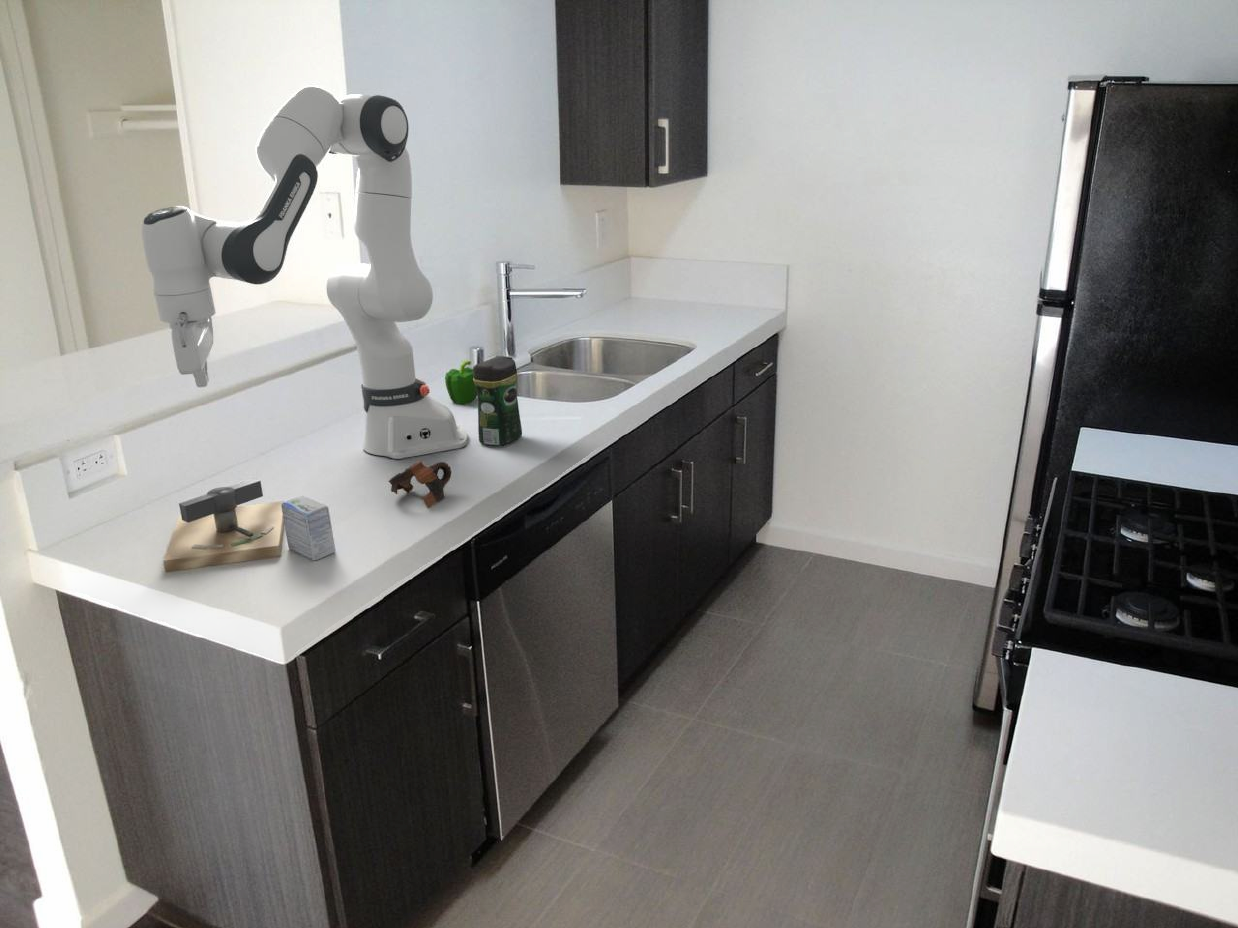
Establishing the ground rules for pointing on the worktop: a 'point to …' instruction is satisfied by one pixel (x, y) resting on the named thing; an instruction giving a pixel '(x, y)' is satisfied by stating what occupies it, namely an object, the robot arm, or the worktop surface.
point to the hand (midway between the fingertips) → (203, 384)
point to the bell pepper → (461, 384)
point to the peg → (222, 505)
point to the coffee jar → (497, 401)
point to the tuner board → (227, 539)
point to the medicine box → (308, 527)
